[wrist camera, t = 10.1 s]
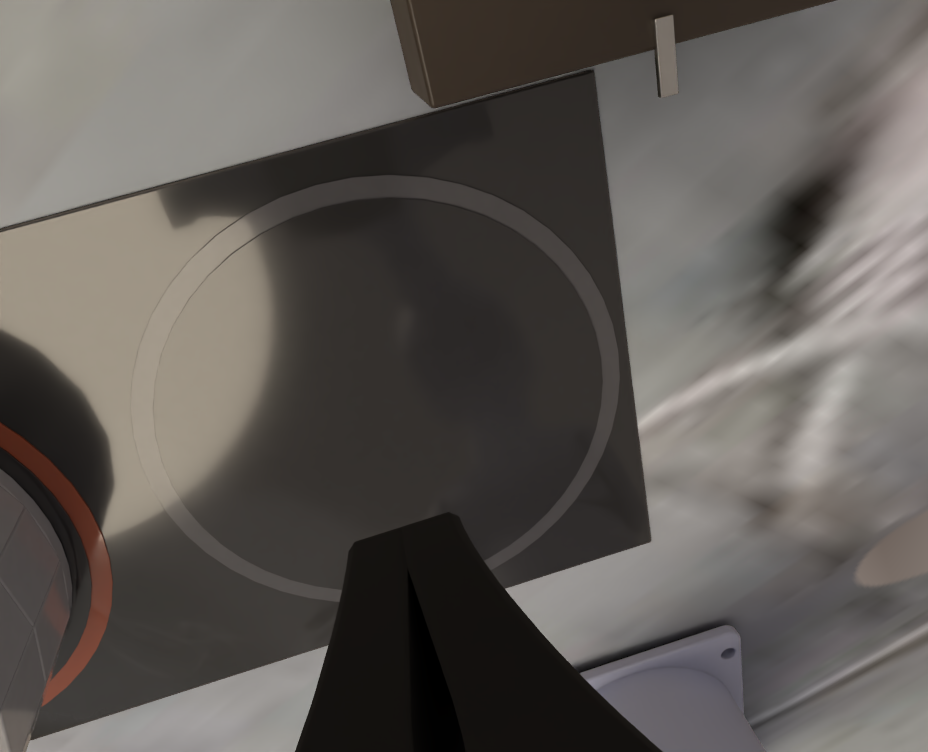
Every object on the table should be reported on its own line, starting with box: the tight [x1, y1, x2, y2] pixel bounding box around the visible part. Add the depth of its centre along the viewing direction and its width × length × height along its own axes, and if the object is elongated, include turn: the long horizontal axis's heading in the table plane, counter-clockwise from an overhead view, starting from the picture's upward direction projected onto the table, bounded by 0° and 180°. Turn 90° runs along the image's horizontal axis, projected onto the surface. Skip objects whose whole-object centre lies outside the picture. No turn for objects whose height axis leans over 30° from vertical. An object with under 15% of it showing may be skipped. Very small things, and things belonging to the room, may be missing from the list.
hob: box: [0, 70, 651, 740], centre depth 19 cm, size 14×28×1 cm, turn 102°
